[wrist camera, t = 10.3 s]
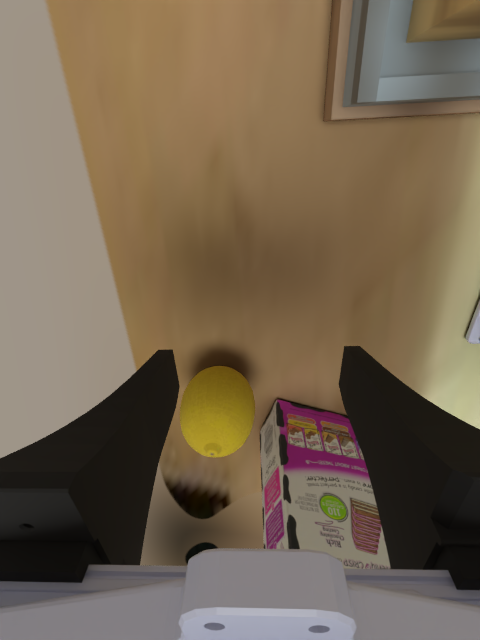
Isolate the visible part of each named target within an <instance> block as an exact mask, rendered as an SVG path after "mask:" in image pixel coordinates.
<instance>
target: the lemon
mask: <svg viewBox="0 0 480 640" xmlns="http://www.w3.org/2000/svg"><path fill="white" fill-rule="evenodd" d="M254 414H255V401H254V396H253V391H252V389H251V387H250V385H249V383H248V381H247V380H246V378H245V377H244V376H243V375H242V374H241V373H239V372H238V371H236V370H234V369H232V368H229V367H226V366H213V367H209V368H206V369H204V370H202V371H201V372H199V373H198V374H197V375H196V376H195V377H194V378H192V380H191V381H190V382H189V384H188V386H187V388H186V389H185V391H184V394H183V397H182V401H181V407H180V423H181V429H182V433H183V435H184V437H185V439H186V441H187V443H188V444H189V445H190V446H191V447H192V448H193V449H194V450H195V451H197V452H198V453H200V454H202V455H205V456H208V457H223V456H226V455H229V454H231V453H233V452H235V451H236V450H238V449H239V448H240V447H241V446H242V445H243V444H244V443H245V441H246V439H247V437H248V436H249V434H250V431H251V429H252V425H253V421H254Z"/></svg>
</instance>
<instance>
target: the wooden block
mask: <svg viewBox="0 0 480 640" xmlns="http://www.w3.org/2000/svg"><path fill="white" fill-rule="evenodd" d="M477 38H480V0H413V5H412V11H411V17H410V23H409V28H408V34H407V40H406V43H412V42H429V41H445V40H461V39H477Z"/></svg>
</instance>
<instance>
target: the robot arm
mask: <svg viewBox="0 0 480 640" xmlns="http://www.w3.org/2000/svg"><path fill="white" fill-rule="evenodd" d="M479 337H480V300H479V303H478V306H477V308H476V311H475V313H474V316H473V319H472V321H471V324H470V327H469V329H468V332H467V335H466V340H467V341H468V342H469V343H472V344H480V338H479ZM339 387H340V392H341V396H342V400H343V404H344V407H345V410H346V413H347V415H348V418H349V421H350V423H351V426H352V429H353V431H354V434H355V436H356V439H357V441H358V444H359V447H360V449H361V452H362V455H363V458H364V460H365V463H366V467H367V471H368V474H369V478H370V482H371V485H372V489H373V493H374V497H375V501H376V505H377V509H378V513H379V517H380V522H381V526H382V530H383V535H384V539H385V543H386V548H387V553H388V558H389V562H390V567H391V569H344V568H343V565H342V562H341V561H340V560H338V559H337V558H335V557H334V556H332V555H330V554H328V553H326V552H322V551H315V550H308V549H238V548H235V549H234V548H220V549H211V550H204V551H202V552H200V553H199V554H197V555H195V556H193V557H192V558H191V559H190V560H189V562H188V566H151V565H149V566H148V565H147V566H146V565H145V566H144V565H140V561H141V554H142V547H143V541H144V535H145V528H146V523H147V517H148V511H149V506H150V501H151V496H152V491H153V486H154V481H155V476H156V472H157V467H158V463H159V459H160V456H161V452H162V449H163V446H164V443H165V440H166V437H167V434H168V430H169V427H170V424H171V421H172V418H173V415H174V411H175V408H176V403H177V398H178V392H179V381H178V375H177V370H176V365H175V360H174V354H173V350H158V351H157V352H156V353H155V354H154V355H153V356H152V357H151V358H150V359H149V360H148V361H147V362H146V363H145V364H144V365H143V366H142V367H141V368H140V369H139V370H138V371H137V372H136V373H135V374H133V375H132V376H131V378H129V379H128V380H127V381H126V382H125V383H124V384H122V385H121V386H120V387H119V388H118V389H117V390H116V391H115V392H113V393H112V394H111V395H110V396H109V397H107V398H106V399H105V400H103V401H102V402H101V403H99V404H98V405H97V406H95V407H94V408H92V409H91V410H90V411H88V412H87V413H85V414H84V415H82V416H80V417H79V418H77V419H76V420H74V421H72V422H71V423H69V424H68V425H66V426H64V427H63V428H61V429H59V430H57V431H56V432H54V433H52V434H50V435H48V436H46V437H45V438H43V439H41V440H39V441H37V442H35V443H33V444H31V445H29V446H27V447H24V448H22V449H20V450H18V451H16V452H13V453H11V454H9V455H7V456H5V457H3V458H0V640H480V429H478V428H476V427H474V426H472V425H470V424H468V423H466V422H464V421H462V420H460V419H458V418H457V417H455V416H453V415H451V414H449V413H448V412H446V411H444V410H442V409H441V408H439V407H438V406H436V405H434V404H433V403H431V402H430V401H428V400H427V399H425V398H424V397H422V396H421V395H419V394H418V393H416V392H415V391H414V390H412V389H411V388H409V387H408V386H407V385H405V384H404V383H403V382H401V381H400V380H399V379H398V378H396V377H395V376H394V375H393V374H391V373H390V372H389V371H388V370H387V369H385V368H384V367H383V366H382V365H381V364H380V363H378V362H377V361H376V360H375V359H374V358H373V357H372V356H370V355H369V354H368V353H367V352H366V351H365V350H364V349H362V348H361V347H360V346H344V352H343V359H342V366H341V373H340V379H339Z"/></svg>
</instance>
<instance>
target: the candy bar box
mask: <svg viewBox="0 0 480 640" xmlns="http://www.w3.org/2000/svg"><path fill="white" fill-rule="evenodd" d="M260 453H261V480H262V505H263V506H262V507H263V529H264V549H308V550H315V551H322V552H326V553H328V554H330V555H332V556H334V557H335V558H337V559H338V560H340V561H341V562H342V565H343V568H344V569H391V567H390V562H389V558H388V553H387V548H386V543H385V539H384V535H383V530H382V526H381V522H380V517H379V513H378V509H377V505H376V501H375V497H374V493H373V489H372V485H371V482H370V478H369V474H368V471H367V467H366V463H365V460H364V458H363V455H362V452H361V449H360V447H359V444H358V441H357V439H356V436H355V434H354V431H353V429H352V426H351V423H350V421H349V418H348V416H344V415H340V414H336V413H331V412H327V411H323V410H319V409H315V408H310V407H306V406H302V405H298V404H294V403H290V402H286V401H282V400H278V399H277V400H276V401H275V403H274V405H273V407H272V409H271V412H270V413H269V415H268V417H267V419H266V421H265V422H264V424H263V426H262V428H261V430H260Z"/></svg>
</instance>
